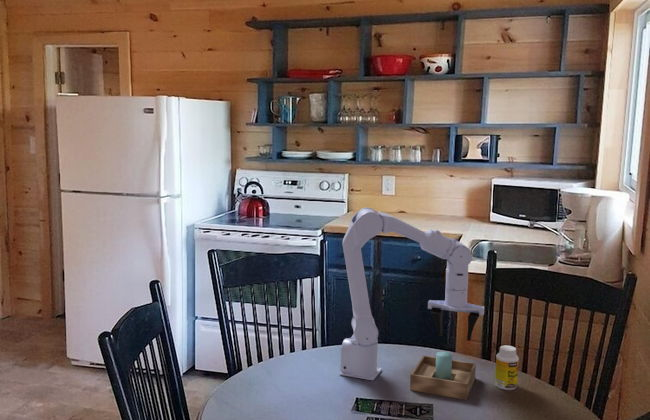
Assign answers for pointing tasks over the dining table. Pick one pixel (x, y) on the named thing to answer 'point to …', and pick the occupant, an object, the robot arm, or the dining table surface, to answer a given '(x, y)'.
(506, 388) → the supplement bottle
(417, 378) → the box
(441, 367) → the peg
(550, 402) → the dining table surface
